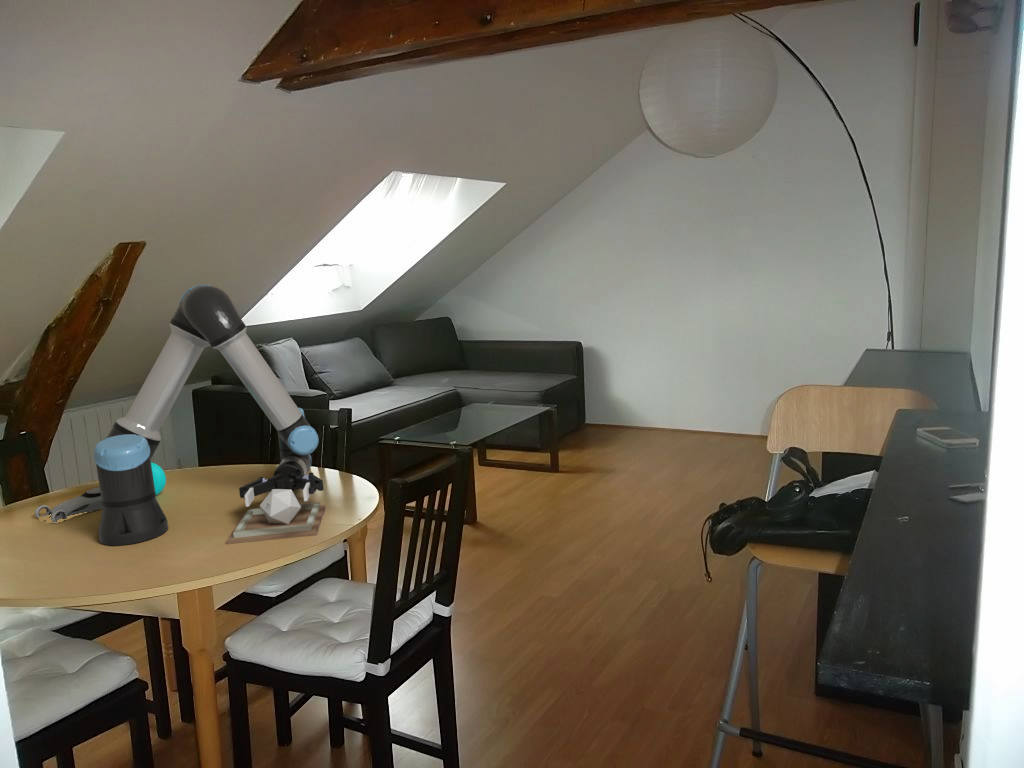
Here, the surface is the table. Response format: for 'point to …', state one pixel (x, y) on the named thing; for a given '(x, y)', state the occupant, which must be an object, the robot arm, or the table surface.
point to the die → (280, 506)
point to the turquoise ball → (158, 478)
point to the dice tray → (277, 525)
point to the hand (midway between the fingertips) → (276, 498)
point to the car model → (74, 505)
